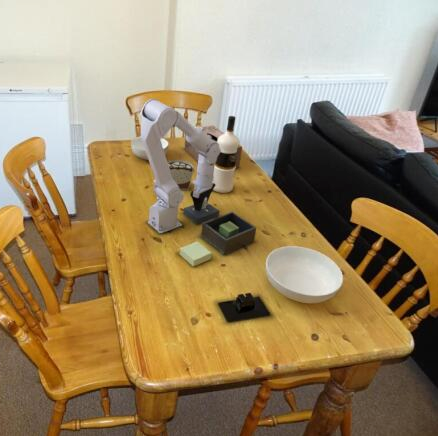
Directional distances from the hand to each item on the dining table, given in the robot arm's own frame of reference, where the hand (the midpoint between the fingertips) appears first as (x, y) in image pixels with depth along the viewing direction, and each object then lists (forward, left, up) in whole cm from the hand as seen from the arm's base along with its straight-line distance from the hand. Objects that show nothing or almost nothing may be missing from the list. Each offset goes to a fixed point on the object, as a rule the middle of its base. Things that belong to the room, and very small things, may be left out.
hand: (201, 205), depth 149 cm
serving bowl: (-1, -45, -3) cm, 46 cm away
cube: (-3, -18, -2) cm, 18 cm away
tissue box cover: (+34, +33, -3) cm, 48 cm away
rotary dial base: (-1, -1, -3) cm, 3 cm away
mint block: (-18, -19, -3) cm, 26 cm away
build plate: (-21, -43, -3) cm, 48 cm away
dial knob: (0, 0, 0) cm, 0 cm away
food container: (+5, +21, -3) cm, 21 cm away
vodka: (+19, +10, -3) cm, 21 cm away
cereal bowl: (+10, +49, -3) cm, 50 cm away
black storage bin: (-3, -17, -3) cm, 18 cm away
